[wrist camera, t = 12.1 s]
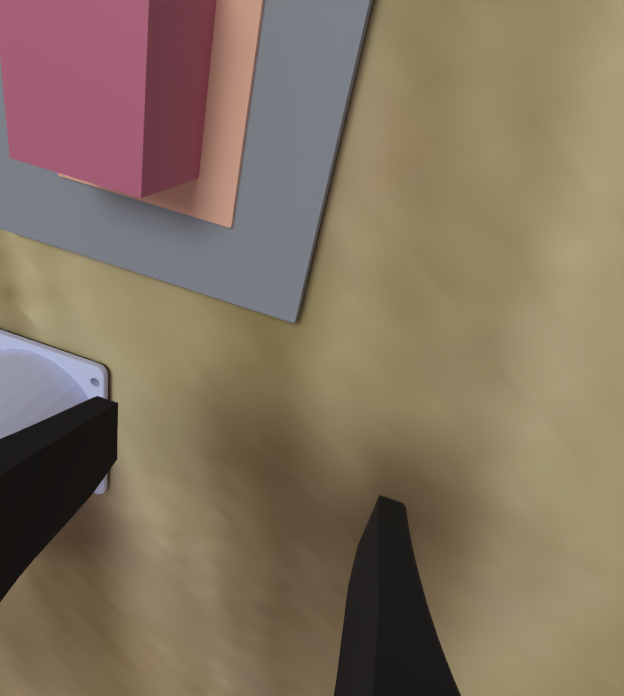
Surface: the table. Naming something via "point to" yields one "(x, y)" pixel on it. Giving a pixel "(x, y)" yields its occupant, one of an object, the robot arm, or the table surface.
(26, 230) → the mat
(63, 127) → the pink rectangular block
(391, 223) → the table surface
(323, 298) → the table surface
